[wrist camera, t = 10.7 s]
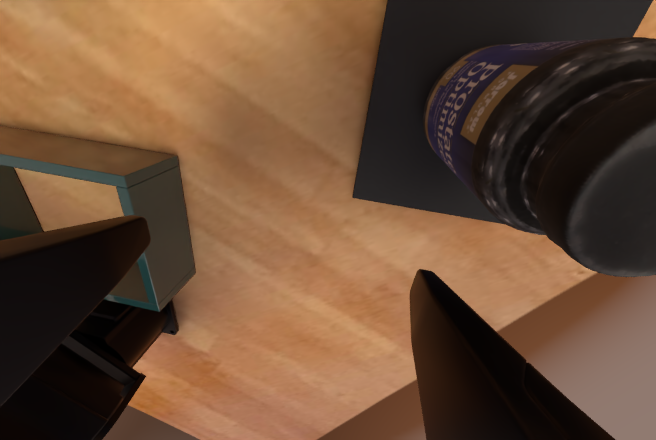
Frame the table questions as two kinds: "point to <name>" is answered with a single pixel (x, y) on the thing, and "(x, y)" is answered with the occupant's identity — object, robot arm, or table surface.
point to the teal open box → (135, 197)
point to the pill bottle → (558, 143)
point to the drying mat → (428, 64)
